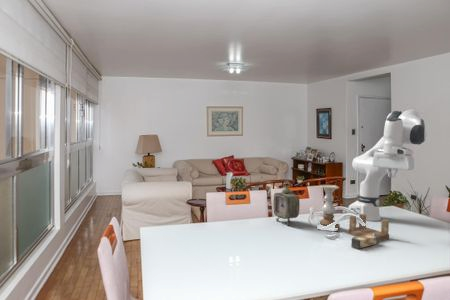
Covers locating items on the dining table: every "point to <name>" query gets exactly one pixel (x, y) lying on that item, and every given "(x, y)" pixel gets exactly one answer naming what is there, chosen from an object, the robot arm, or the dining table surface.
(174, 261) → the dining table surface
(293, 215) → the tabletop clock
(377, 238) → the hinged leg
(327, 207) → the candle holder
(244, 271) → the dining table surface
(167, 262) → the dining table surface
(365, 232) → the stool seat
